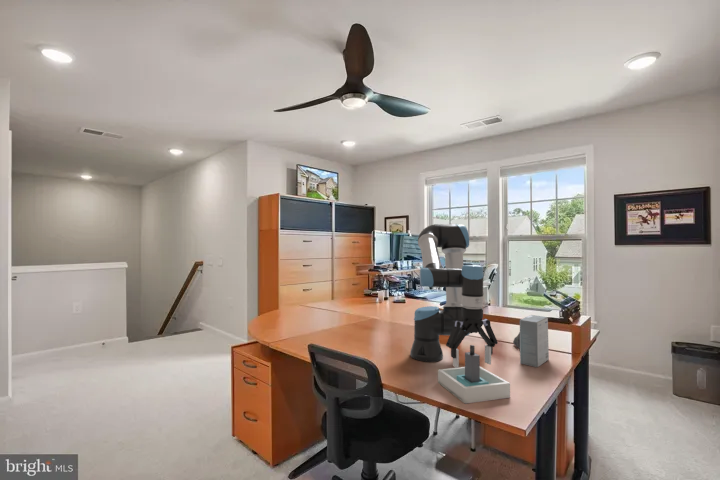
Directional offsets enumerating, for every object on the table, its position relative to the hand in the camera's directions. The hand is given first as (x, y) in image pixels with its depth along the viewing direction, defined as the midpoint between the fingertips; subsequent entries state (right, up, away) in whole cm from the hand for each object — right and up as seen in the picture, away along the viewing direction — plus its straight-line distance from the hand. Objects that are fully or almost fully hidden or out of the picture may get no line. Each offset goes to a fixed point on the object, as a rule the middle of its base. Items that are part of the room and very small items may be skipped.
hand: (472, 365), depth 123 cm
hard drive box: (+39, -10, +31) cm, 51 cm away
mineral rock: (+44, -11, +51) cm, 69 cm away
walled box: (0, -9, 0) cm, 9 cm away
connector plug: (0, -8, 0) cm, 8 cm away
